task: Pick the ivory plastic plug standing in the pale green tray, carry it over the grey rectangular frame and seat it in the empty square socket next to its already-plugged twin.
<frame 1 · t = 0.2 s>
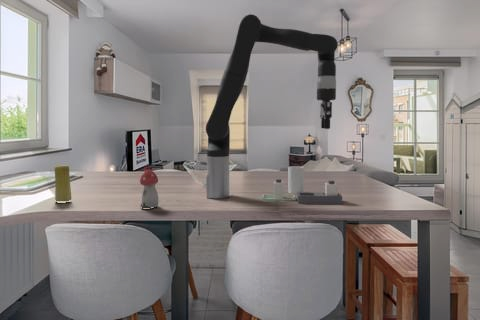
hand: (325, 128, 160), 28 cm above the table, fingers open, 8 cm apart
grey rectangular frame: (318, 204, 149), on the table
mug: (296, 194, 171), on the table
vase: (63, 202, 156), on the table
decorative ornament: (149, 208, 146), on the table
twin plug: (331, 201, 149), point 1 cm above the table, touching grey rectangular frame
plug: (278, 199, 157), resting on tray
tray: (278, 200, 157), on the table
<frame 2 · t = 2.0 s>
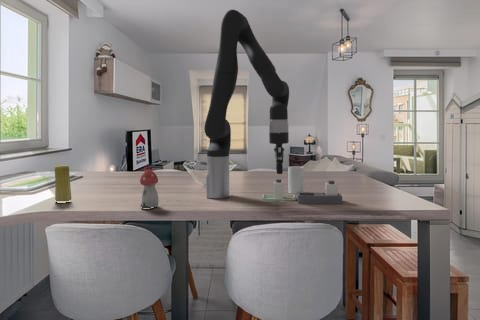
hand: (279, 172, 156), 11 cm above the table, fingers open, 8 cm apart
nothing on the table moved.
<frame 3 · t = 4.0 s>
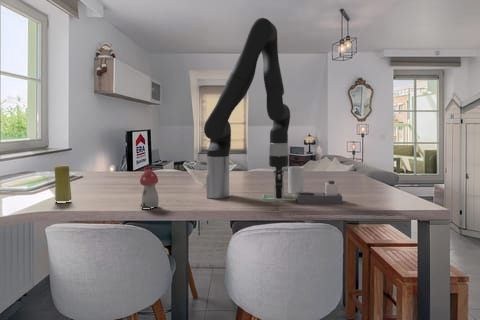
hand: (278, 197, 157), 1 cm above the table, fingers closed on plug, 4 cm apart
plug: (278, 199, 157), point 1 cm above the table, touching gripper, tray
everything else where it was.
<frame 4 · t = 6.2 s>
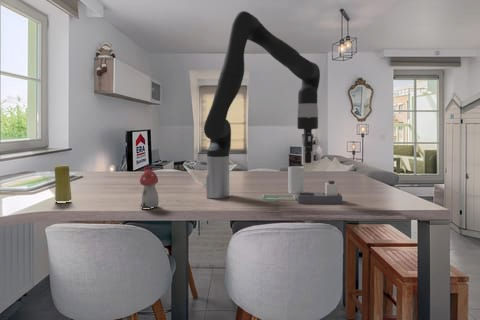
hand: (307, 162, 148), 16 cm above the table, fingers closed on plug, 4 cm apart
plug: (307, 164, 148), point 15 cm above the table, touching gripper
everything else where it was.
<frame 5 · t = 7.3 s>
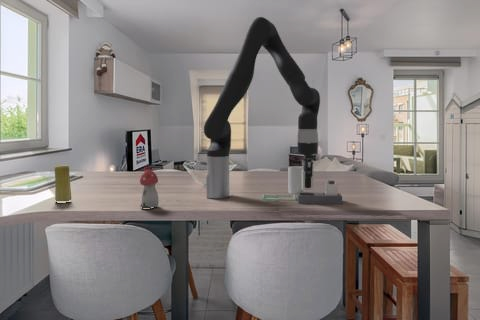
hand: (307, 186, 149), 7 cm above the table, fingers closed on plug, 4 cm apart
plug: (307, 189, 149), point 6 cm above the table, touching gripper
everything else where it was.
when the fingers open (4 cm above the table, at t = 8.5 s): plug drops 2 cm, resting on grey rectangular frame.
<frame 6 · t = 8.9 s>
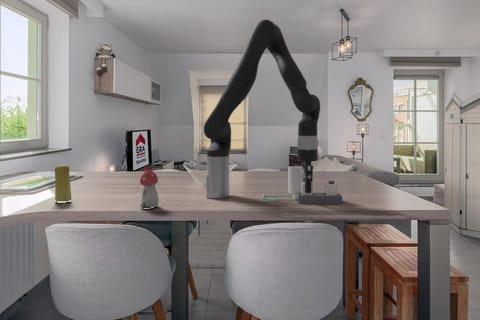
hand: (307, 191, 149), 5 cm above the table, fingers open, 8 cm apart
plug: (307, 201, 149), point 1 cm above the table, touching grey rectangular frame
everything else where it was.
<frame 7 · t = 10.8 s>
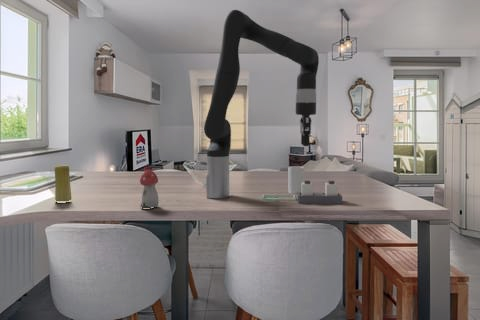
hand: (305, 145, 148), 22 cm above the table, fingers open, 8 cm apart
nothing on the table moved.
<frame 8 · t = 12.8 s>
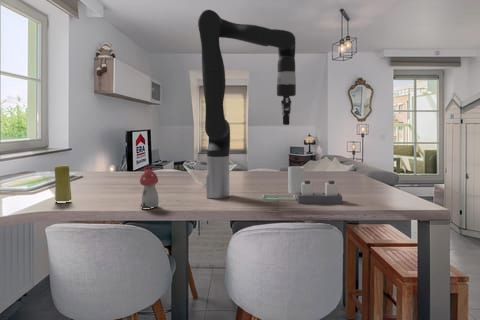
hand: (286, 124, 159), 30 cm above the table, fingers open, 8 cm apart
nothing on the table moved.
at the end: plug 0.1 cm from the target spot on the grey rectangular frame, point 1.1 cm above the grey rectangular frame's base; plug tilted 0°; the gripper is holding nothing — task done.
